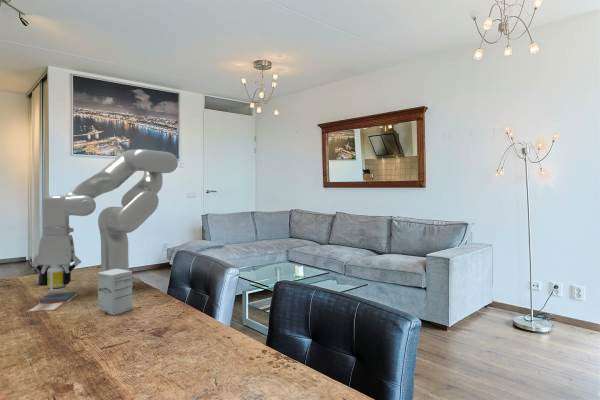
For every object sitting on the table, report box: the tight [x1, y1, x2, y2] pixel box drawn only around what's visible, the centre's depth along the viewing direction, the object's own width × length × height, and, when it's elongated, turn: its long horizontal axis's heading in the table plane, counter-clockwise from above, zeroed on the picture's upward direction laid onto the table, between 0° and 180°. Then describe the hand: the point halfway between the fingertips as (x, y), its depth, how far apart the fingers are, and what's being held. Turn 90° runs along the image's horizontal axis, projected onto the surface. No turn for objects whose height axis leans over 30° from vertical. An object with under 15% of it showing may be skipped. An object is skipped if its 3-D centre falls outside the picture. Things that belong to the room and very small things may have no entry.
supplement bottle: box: [46, 265, 67, 292], centre depth 132 cm, size 5×5×10 cm
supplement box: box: [97, 269, 133, 316], centre depth 123 cm, size 7×7×13 cm
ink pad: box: [39, 291, 76, 303], centre depth 133 cm, size 8×8×1 cm
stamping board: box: [23, 294, 77, 314], centre depth 128 cm, size 9×18×1 cm, turn 12°
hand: (56, 283), depth 132 cm, fingers closed on supplement bottle, 5 cm apart
